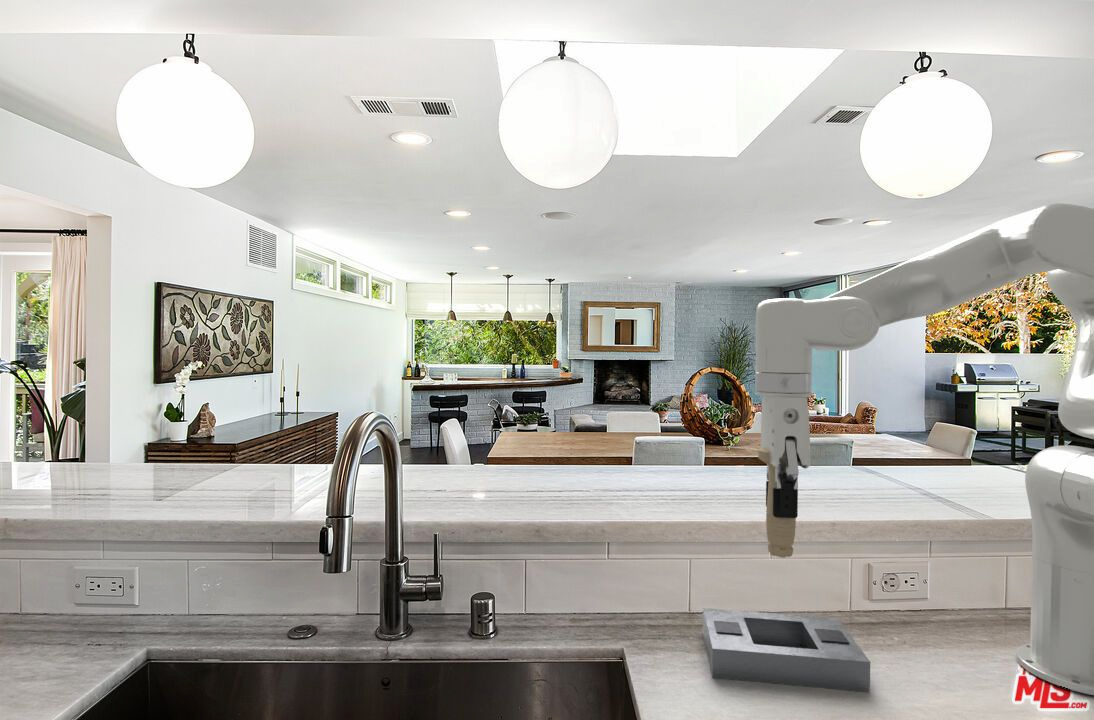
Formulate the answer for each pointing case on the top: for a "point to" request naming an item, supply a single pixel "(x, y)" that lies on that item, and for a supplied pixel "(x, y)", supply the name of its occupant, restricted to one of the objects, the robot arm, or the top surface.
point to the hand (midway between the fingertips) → (781, 511)
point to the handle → (777, 528)
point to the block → (784, 650)
